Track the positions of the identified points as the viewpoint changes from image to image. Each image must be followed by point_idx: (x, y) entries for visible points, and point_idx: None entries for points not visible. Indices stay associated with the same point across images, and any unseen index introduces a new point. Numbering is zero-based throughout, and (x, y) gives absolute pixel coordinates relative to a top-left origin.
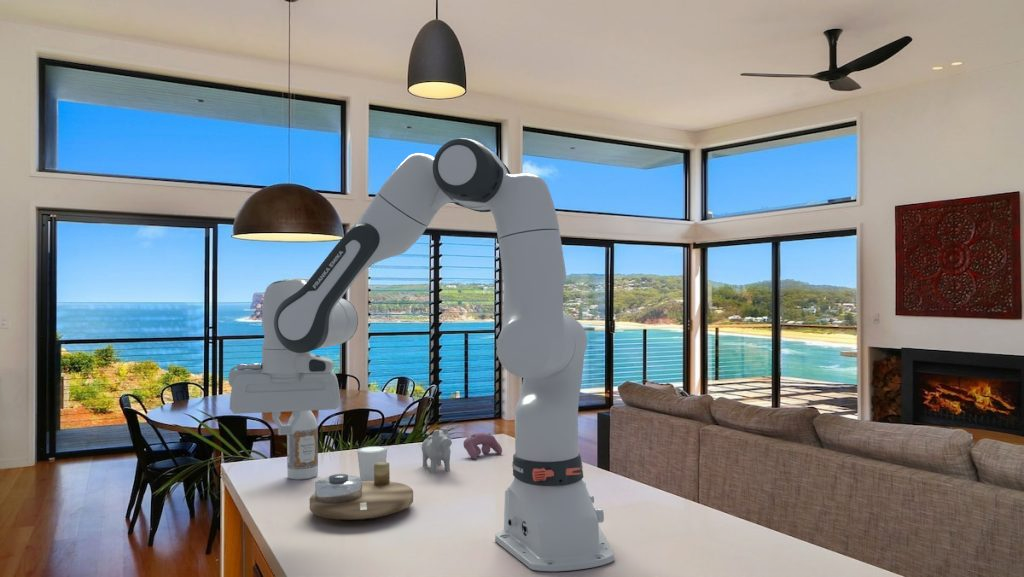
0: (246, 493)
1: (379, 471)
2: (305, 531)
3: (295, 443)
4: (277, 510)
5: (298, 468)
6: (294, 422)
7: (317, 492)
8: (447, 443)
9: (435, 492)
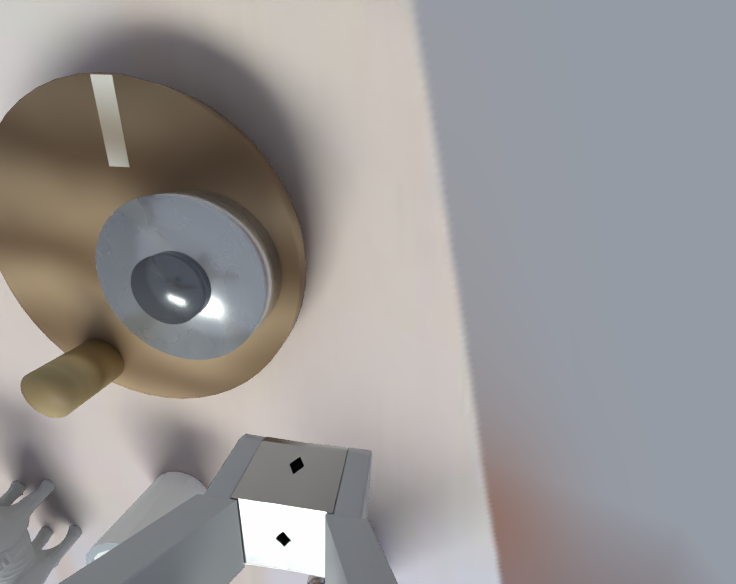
0: (481, 502)
1: (65, 363)
2: (316, 110)
3: None
4: (402, 340)
5: None
6: (174, 521)
7: (257, 242)
8: None
9: (9, 336)
